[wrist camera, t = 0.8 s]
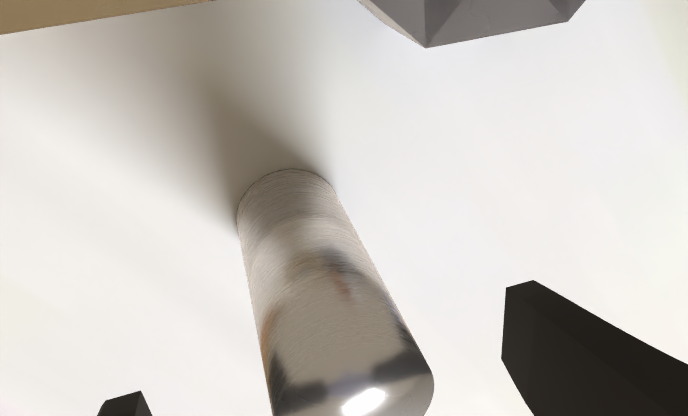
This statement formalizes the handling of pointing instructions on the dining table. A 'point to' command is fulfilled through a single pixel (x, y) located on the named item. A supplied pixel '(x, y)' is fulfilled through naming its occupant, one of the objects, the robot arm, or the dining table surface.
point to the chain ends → (385, 3)
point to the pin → (324, 307)
